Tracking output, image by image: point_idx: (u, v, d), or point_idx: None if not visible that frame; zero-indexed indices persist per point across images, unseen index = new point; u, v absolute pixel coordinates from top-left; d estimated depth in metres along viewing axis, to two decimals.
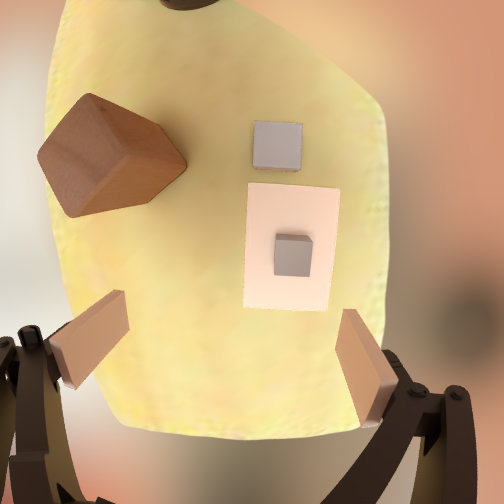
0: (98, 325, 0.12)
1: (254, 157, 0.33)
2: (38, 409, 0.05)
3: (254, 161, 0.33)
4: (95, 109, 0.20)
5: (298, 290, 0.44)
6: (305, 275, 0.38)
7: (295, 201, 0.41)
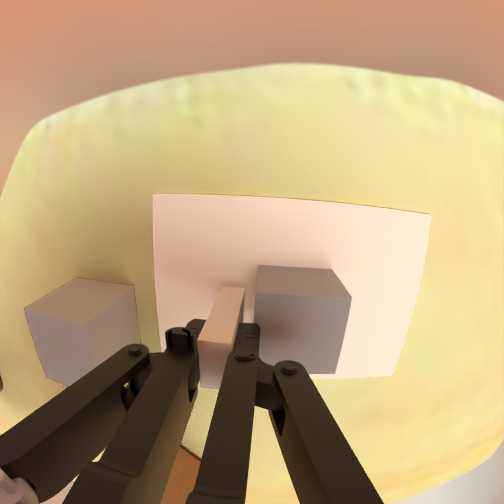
0: None
1: None
2: (153, 424, 0.06)
3: None
4: None
5: (381, 280, 0.18)
6: (346, 308, 0.14)
7: (186, 290, 0.19)
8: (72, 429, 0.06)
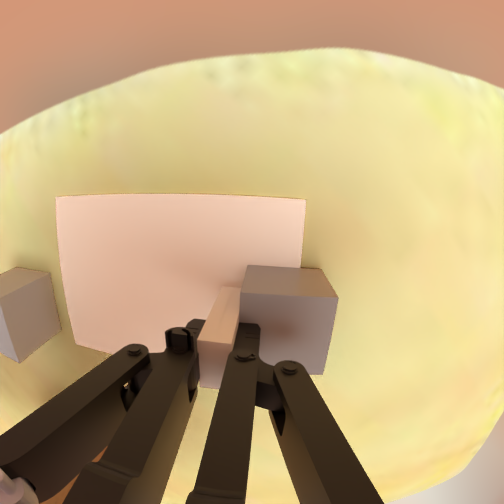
0: None
1: (12, 358, 0.15)
2: (153, 424, 0.06)
3: (15, 359, 0.15)
4: None
5: None
6: (332, 308, 0.14)
7: (80, 277, 0.20)
8: (72, 429, 0.06)
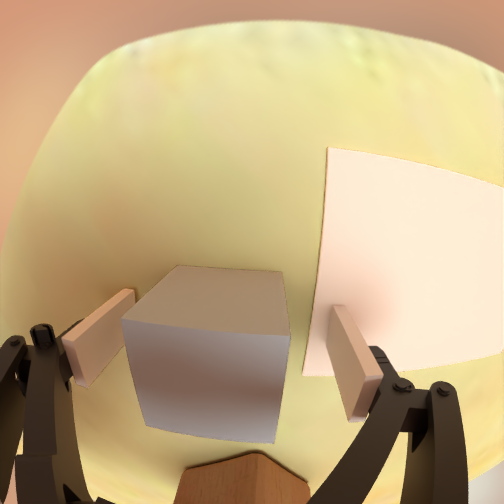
0: (110, 323, 0.13)
1: (248, 440, 0.10)
2: (48, 409, 0.06)
3: (260, 440, 0.10)
4: None
5: None
6: None
7: (359, 274, 0.15)
8: None
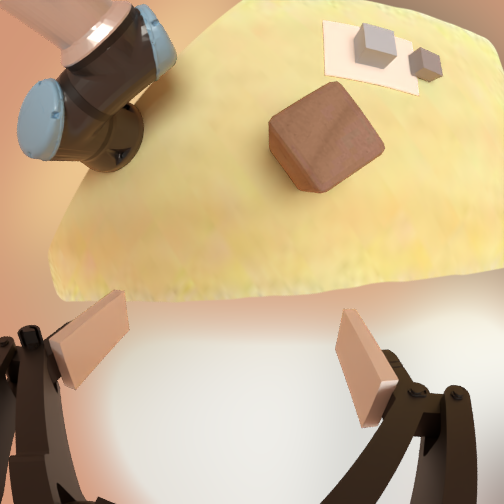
0: (98, 325, 0.12)
1: (391, 53, 0.33)
2: (38, 409, 0.05)
3: (394, 54, 0.33)
4: (291, 107, 0.26)
5: (400, 55, 0.38)
6: (438, 57, 0.33)
7: (336, 46, 0.39)
8: None
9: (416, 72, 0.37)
